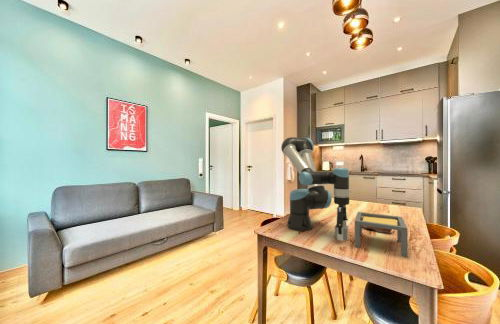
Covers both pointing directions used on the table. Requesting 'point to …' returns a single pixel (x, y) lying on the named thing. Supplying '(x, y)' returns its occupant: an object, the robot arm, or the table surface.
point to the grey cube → (345, 232)
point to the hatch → (380, 220)
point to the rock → (377, 228)
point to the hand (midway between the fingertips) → (342, 236)
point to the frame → (401, 227)
